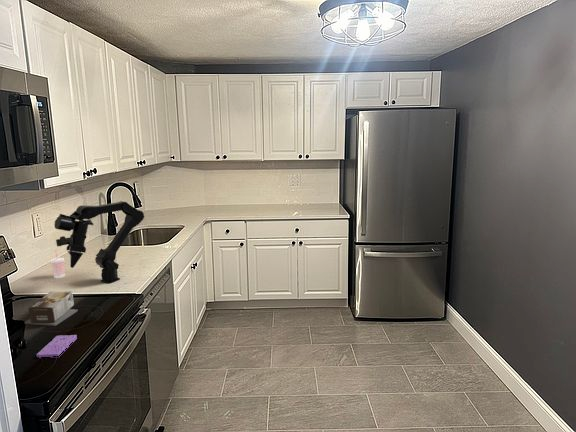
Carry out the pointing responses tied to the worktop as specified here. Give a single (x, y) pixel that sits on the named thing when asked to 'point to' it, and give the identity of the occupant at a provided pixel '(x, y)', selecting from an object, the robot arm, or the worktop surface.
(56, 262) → the beverage cup
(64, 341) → the sponges
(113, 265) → the robot arm
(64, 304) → the coffee box
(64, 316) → the tipping mat
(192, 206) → the worktop surface
